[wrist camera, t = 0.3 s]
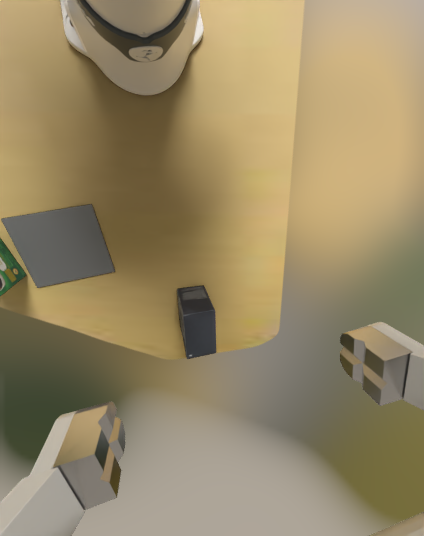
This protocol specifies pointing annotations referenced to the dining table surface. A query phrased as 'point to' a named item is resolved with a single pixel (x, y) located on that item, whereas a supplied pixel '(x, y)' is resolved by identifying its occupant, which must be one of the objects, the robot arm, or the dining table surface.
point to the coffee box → (8, 269)
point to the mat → (60, 244)
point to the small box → (197, 321)
